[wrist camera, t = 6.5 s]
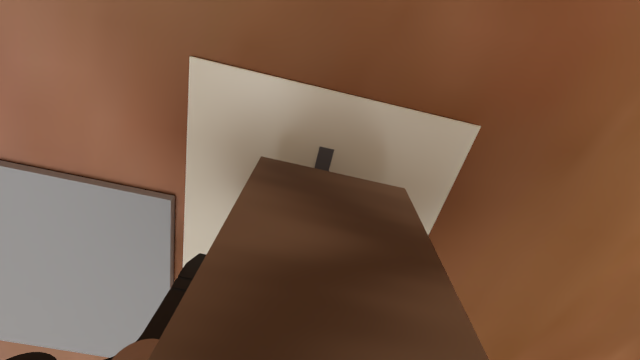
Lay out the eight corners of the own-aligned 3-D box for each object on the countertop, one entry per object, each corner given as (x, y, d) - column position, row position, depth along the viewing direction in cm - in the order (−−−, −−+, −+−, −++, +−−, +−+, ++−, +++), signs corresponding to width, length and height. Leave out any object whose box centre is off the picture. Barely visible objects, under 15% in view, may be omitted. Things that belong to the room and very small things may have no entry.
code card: (479, 125, 12) (481, 126, 11) (387, 317, 16) (387, 319, 16) (191, 55, 11) (189, 56, 11) (183, 279, 16) (181, 282, 15)
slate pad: (174, 195, 13) (170, 200, 13) (172, 360, 19) (169, 367, 18) (-69, 146, 13) (-81, 149, 12) (0, 333, 18) (-6, 339, 17)
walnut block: (405, 188, 10) (576, 539, 3) (350, 324, 13) (374, 662, 6) (261, 156, 10) (86, 470, 3) (238, 303, 13) (125, 637, 6)
